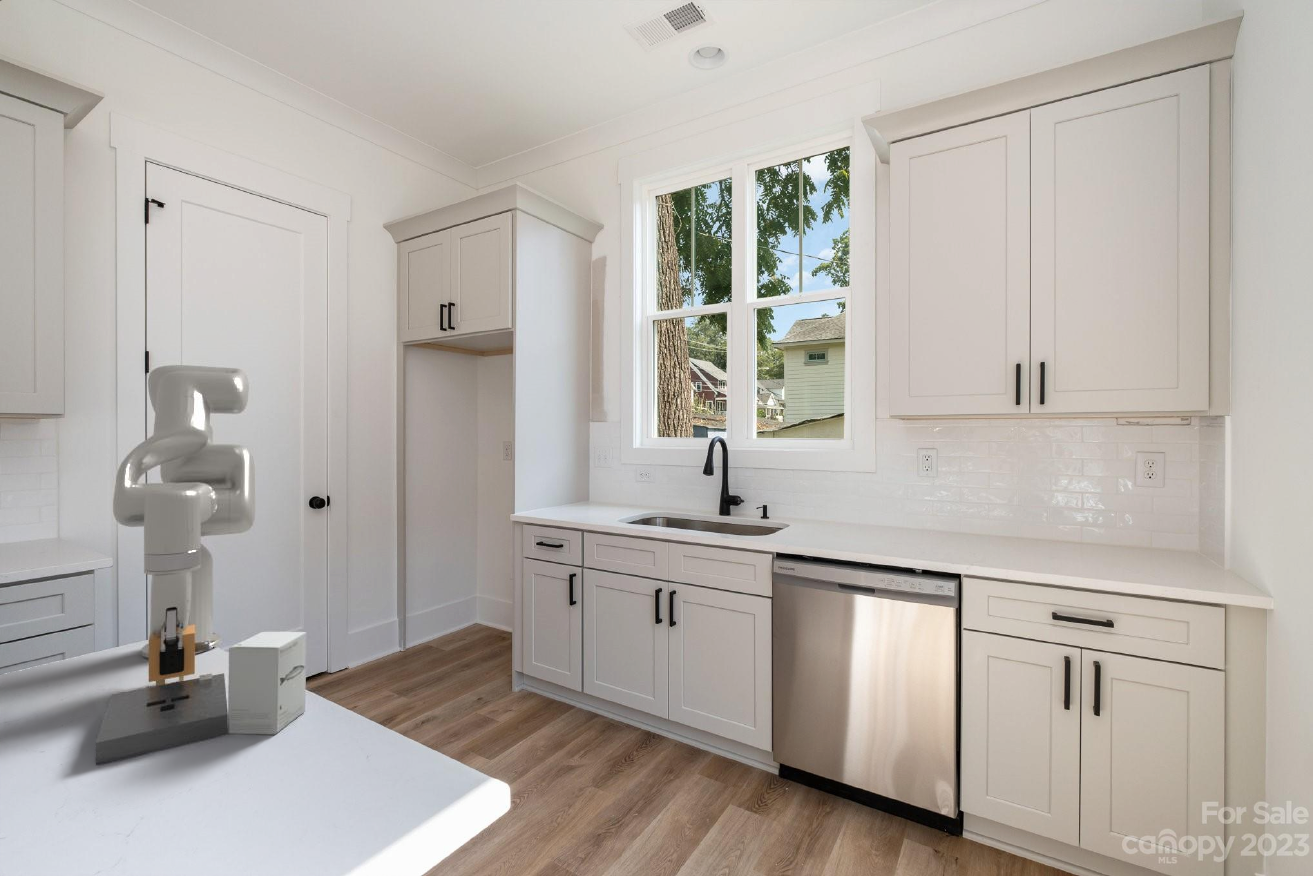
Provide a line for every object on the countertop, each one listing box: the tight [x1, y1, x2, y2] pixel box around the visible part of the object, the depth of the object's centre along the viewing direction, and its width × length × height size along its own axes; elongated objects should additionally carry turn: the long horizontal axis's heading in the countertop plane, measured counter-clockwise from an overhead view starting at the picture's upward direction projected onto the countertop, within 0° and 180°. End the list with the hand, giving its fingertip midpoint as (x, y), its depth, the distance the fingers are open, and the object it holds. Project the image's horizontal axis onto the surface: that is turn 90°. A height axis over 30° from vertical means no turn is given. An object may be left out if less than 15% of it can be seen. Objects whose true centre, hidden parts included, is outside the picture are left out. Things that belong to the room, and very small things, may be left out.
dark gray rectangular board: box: [95, 673, 229, 767], centre depth 90 cm, size 18×14×4 cm
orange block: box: [148, 625, 210, 686], centre depth 104 cm, size 8×5×9 cm, turn 127°
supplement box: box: [227, 631, 307, 735], centre depth 91 cm, size 7×7×13 cm
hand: (172, 666), depth 103 cm, fingers closed on orange block, 4 cm apart
